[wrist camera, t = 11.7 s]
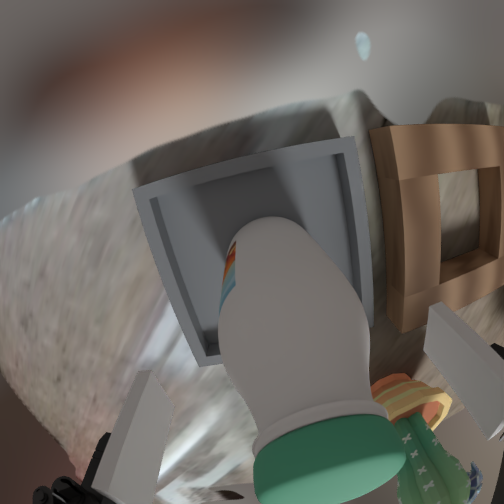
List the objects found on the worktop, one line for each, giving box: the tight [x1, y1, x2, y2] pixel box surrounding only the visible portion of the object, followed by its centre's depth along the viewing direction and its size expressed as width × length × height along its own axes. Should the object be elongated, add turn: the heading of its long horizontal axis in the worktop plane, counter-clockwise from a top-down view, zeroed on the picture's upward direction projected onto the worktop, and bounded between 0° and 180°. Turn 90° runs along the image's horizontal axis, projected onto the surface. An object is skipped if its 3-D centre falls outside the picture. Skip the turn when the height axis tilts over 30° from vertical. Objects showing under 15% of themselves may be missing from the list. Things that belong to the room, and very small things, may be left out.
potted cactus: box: [370, 373, 483, 504], centre depth 21 cm, size 15×15×25 cm
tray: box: [132, 136, 374, 367], centre depth 23 cm, size 18×18×3 cm
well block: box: [369, 124, 504, 334], centre depth 22 cm, size 20×20×4 cm
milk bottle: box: [218, 216, 406, 504], centre depth 14 cm, size 8×8×20 cm
